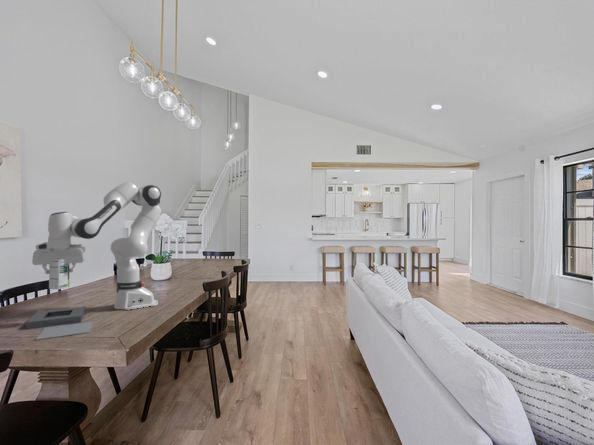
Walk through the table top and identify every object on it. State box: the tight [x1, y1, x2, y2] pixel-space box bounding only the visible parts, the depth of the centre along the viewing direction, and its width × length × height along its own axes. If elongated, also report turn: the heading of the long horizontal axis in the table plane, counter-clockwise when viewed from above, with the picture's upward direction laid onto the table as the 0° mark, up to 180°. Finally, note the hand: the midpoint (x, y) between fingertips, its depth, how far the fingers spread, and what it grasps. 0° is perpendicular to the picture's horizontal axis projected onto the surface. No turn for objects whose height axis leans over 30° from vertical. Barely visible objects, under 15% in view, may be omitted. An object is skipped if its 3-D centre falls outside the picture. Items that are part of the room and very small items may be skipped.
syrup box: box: [48, 259, 70, 290], centre depth 150 cm, size 6×6×14 cm
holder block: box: [25, 305, 87, 330], centre depth 150 cm, size 20×20×3 cm
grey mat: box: [35, 321, 94, 341], centre depth 135 cm, size 18×16×1 cm
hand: (59, 272), depth 150 cm, fingers closed on syrup box, 8 cm apart
